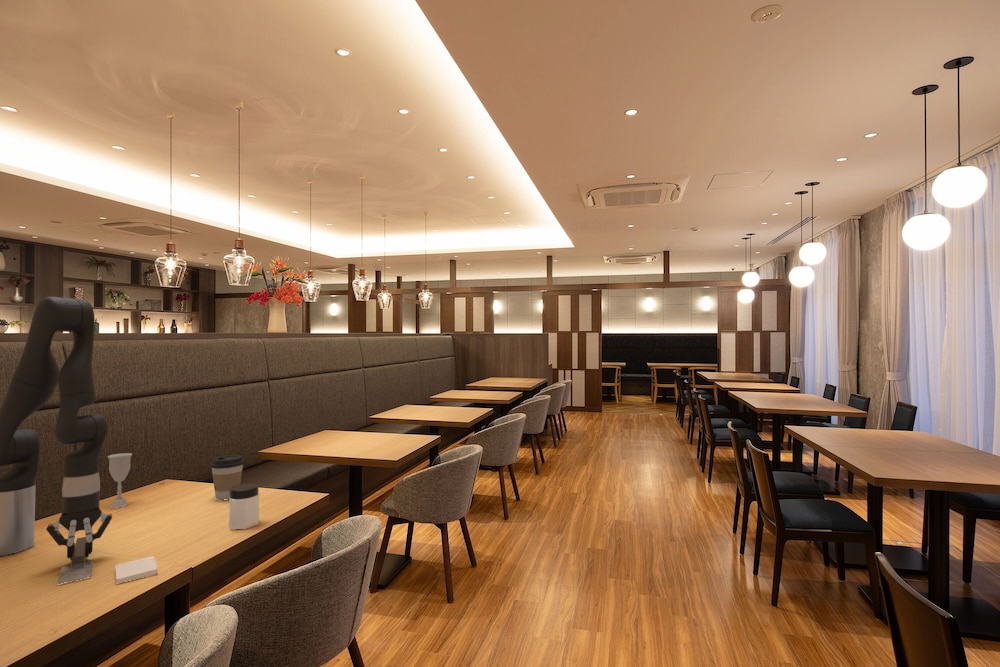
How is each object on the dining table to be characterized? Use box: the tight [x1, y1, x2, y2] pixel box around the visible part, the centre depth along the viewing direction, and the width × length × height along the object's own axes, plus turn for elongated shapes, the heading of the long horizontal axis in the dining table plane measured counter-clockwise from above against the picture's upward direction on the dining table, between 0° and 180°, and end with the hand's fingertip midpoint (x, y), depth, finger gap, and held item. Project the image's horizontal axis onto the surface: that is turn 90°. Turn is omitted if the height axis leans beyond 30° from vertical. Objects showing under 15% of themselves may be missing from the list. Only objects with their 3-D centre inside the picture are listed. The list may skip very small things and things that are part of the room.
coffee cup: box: [209, 454, 245, 501], centre depth 179 cm, size 11×11×15 cm
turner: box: [57, 536, 94, 585], centre depth 123 cm, size 22×6×3 cm, turn 37°
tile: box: [114, 555, 159, 585], centre depth 119 cm, size 8×2×10 cm
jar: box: [228, 483, 260, 531], centre depth 151 cm, size 9×8×12 cm
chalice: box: [107, 452, 133, 509], centre depth 170 cm, size 7×7×18 cm
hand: (80, 557), depth 125 cm, fingers closed on turner, 2 cm apart
